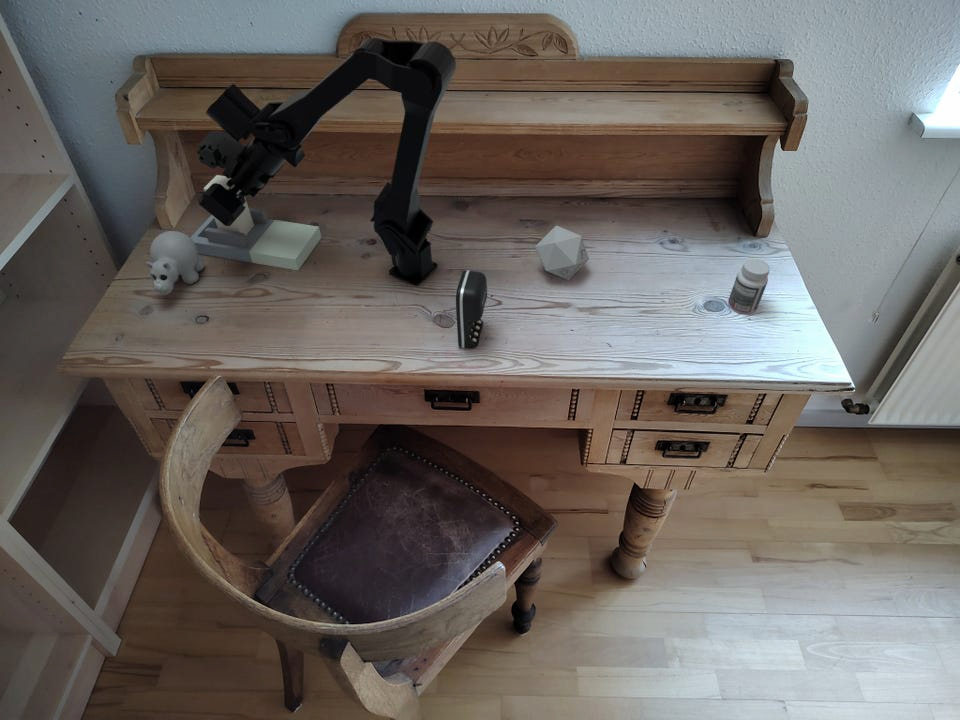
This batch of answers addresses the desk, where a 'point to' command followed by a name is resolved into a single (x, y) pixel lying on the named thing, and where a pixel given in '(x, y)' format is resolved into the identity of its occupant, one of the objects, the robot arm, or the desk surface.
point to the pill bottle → (749, 286)
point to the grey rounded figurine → (173, 261)
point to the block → (244, 220)
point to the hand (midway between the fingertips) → (222, 206)
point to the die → (562, 252)
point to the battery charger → (470, 307)
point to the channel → (260, 241)
